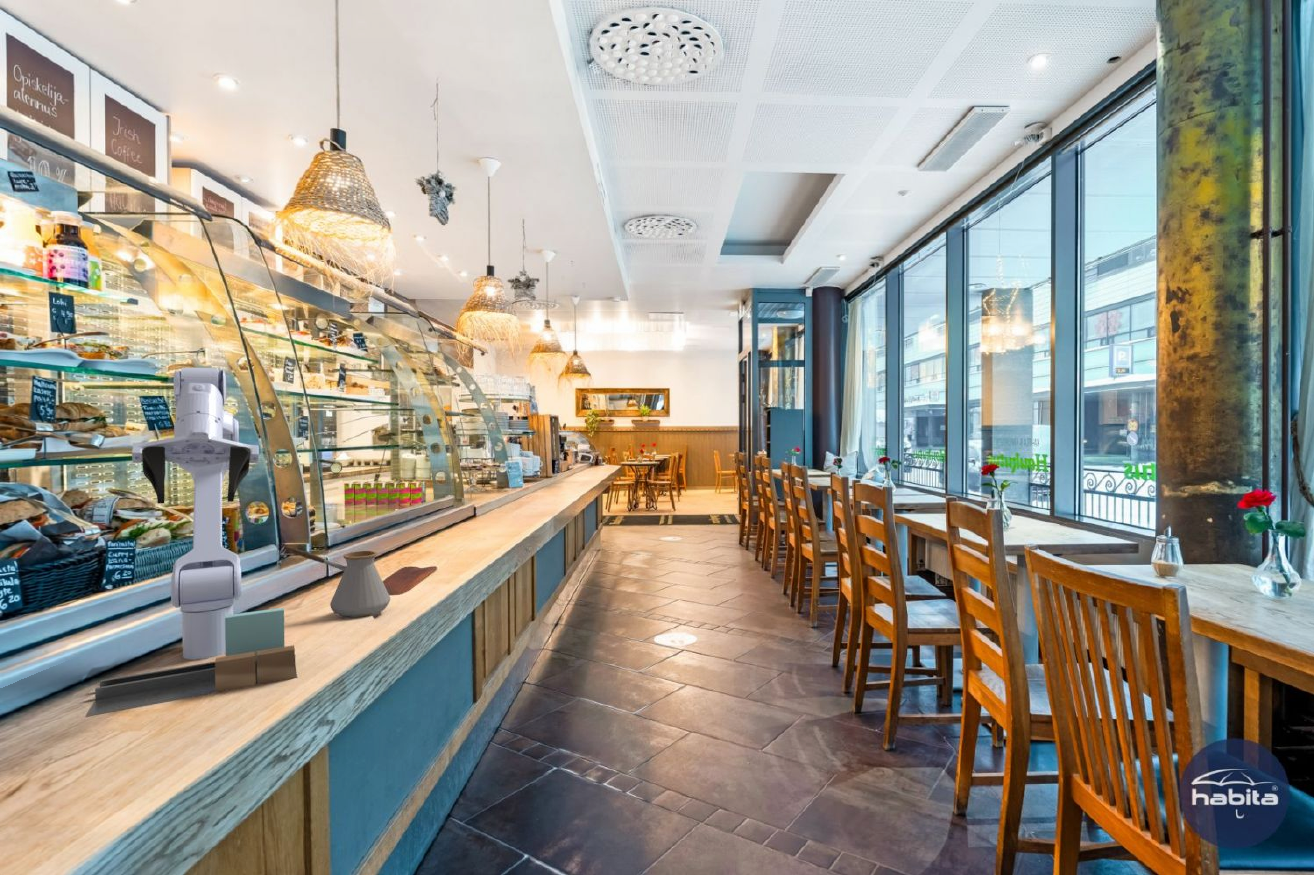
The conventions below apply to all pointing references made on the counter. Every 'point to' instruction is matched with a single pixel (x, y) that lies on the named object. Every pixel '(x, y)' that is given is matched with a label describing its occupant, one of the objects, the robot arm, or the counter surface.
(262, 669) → the offcut
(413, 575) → the wooden tablet
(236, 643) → the teal slab
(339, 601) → the coffee pot
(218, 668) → the offcut
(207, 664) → the rack
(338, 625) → the counter surface
